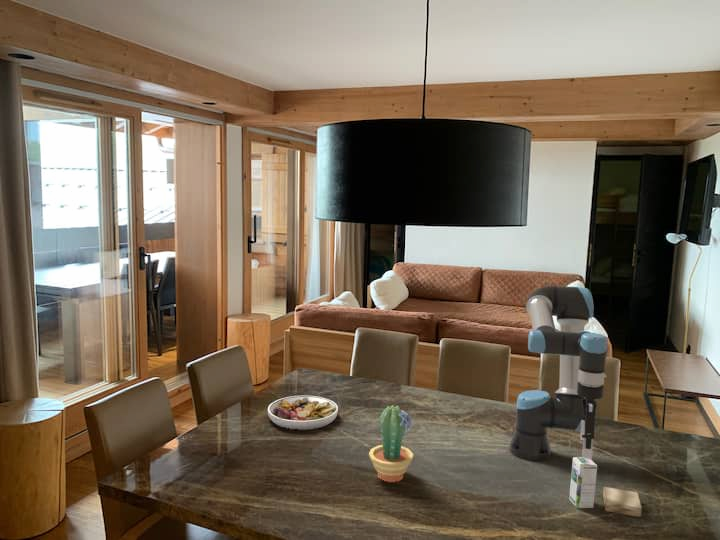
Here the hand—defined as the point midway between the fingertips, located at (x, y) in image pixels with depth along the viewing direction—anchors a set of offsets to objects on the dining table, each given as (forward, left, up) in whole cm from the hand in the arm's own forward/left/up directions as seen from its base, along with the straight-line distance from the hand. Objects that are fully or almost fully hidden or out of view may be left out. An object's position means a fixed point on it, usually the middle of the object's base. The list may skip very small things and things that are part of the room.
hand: (585, 448), depth 181 cm
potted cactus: (-62, -4, -19) cm, 65 cm away
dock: (+12, +3, -19) cm, 22 cm away
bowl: (-111, +32, -19) cm, 117 cm away
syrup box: (0, 0, -19) cm, 19 cm away
